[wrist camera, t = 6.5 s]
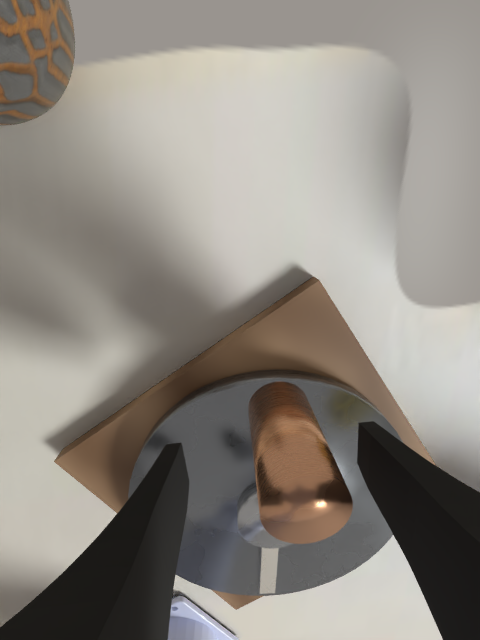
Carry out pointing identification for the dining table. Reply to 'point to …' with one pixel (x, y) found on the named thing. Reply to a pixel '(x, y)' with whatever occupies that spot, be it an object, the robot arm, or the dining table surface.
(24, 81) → the vase
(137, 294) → the dining table surface
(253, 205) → the dining table surface
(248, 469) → the crank wheel
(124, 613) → the robot arm
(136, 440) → the base
